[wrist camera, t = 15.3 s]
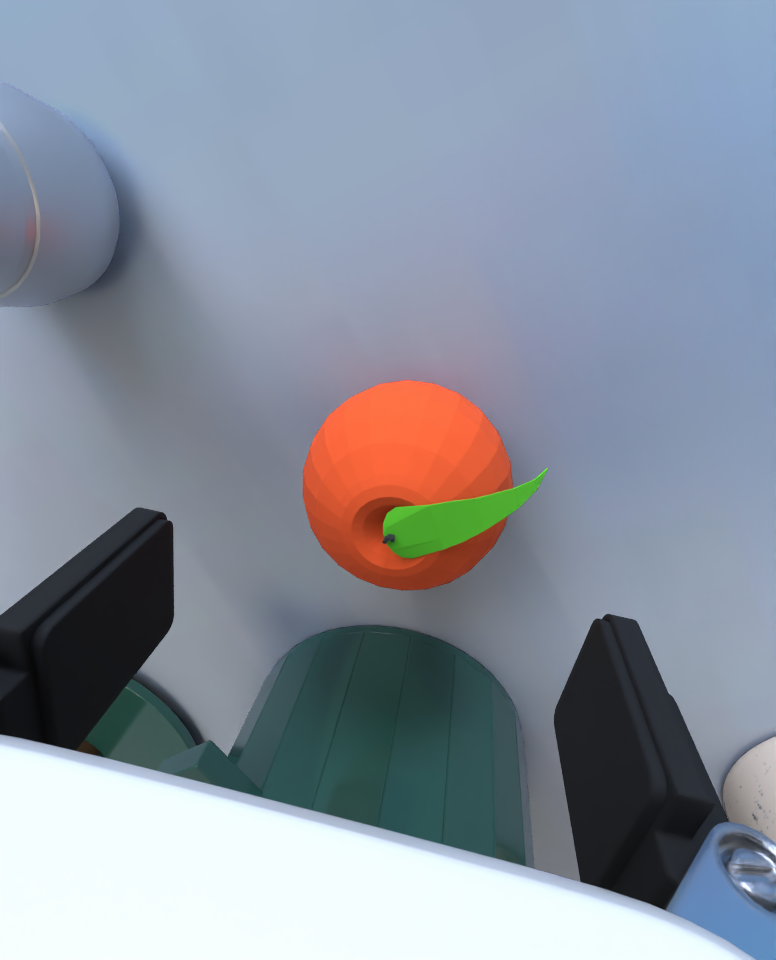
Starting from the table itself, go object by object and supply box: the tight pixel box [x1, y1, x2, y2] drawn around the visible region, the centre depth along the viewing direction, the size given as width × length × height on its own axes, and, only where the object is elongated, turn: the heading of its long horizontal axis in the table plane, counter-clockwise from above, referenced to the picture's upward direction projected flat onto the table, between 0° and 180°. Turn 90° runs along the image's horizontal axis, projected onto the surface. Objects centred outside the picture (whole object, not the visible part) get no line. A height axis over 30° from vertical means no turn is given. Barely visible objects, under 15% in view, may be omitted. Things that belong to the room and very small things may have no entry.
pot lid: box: [76, 679, 197, 771], centre depth 29 cm, size 15×15×7 cm
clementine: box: [303, 380, 548, 590], centre depth 17 cm, size 8×7×7 cm
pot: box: [157, 626, 535, 869], centre depth 23 cm, size 14×19×10 cm
